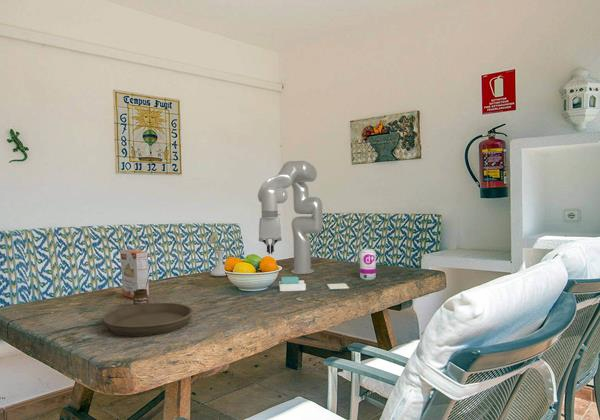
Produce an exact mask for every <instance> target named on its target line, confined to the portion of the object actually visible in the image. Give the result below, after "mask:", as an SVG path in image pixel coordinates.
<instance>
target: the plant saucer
mask: <svg viewBox="0 0 600 420" xmlns="http://www.w3.org/2000/svg"><path fill="white" fill-rule="evenodd" d="M193 315H194V309H193V308H192V307H191V306H189V305H187V304H183V303H175V302H149V303H147V304H138V305H133V304H132V305H128V306H122V307H120V308H119V307H118V308H116V309H114V310H111V311H109V312H107V313H105V314H104V315H103V316H102V318H101V320H102V323H103V325H104V326H105V327H106V328H108V329H109V331H111V332H112V333H113V334H117V335H119V336H127V335H128V336H129V337H131V336H132V337H137V336H138V337H139V336H141V337H143V336H142V335H145V336H152V335H153V336H154V335H158V334H159V335H160V334H165V333H169V332H173V331H176V330H178V329H181V328H183V327H184V326H186V324H187V323H188V321H189V320H190V319H192V317H193Z"/></svg>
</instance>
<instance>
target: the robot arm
mask: <svg viewBox="0 0 600 420" xmlns="http://www.w3.org/2000/svg"><path fill="white" fill-rule="evenodd" d="M317 174H318V172H317V169H316V167H315V166H314V165H313V164H311V163H310V162H309V161H307V160H290V161H287V162H285V163H283V165H282V166H281V168H280V170H279V172H278V174H277V175H275V176H272V177H270V178H269V179H267V180H266V181H264V182H262V185H260V188H259V189H258V191H257V199H258V201H259V202H260V203H261V206H260V207H261V217H260V218H259V223H258V236H259V237H258V242H261V243H264V245H266V252H267V254H268V255H273V253H274V252H275V249H274V248H275V247H274V246H275V245H276V243H278V242H281V241H282V231H281V220H280V217H279V216H281V214H282V213H281V211H278V204H284V203H285V202H286V201H287V200H288V192H287V190H286V189H287V188H289V187H291V188H292V192H293V193H292V194H293V210H294V212H295V213H296V214H297V215H305V216H295V217H293V219H292V221H291V231H292V235H293V237H292V238H293V240H292V241H293V269H291V274H295V275H309V274H312V273H314V271H315V270H314V269H312V268H311V267H312V263H311V258H312V257H311V255H312V254H311V240H310V237H309V236H308V234H309V235H310V234H313V235H314V234H317V235H318V234H320V233H322V230H323V226H324V225H323V203H322V202H323V201H322V200H321V198H319V197H317V196H310V195H309V186H308V184H306V183H307V182H308V183H310V182H314V181H315V180H317V176H318V175H317ZM306 215H312V216H306ZM269 240H271V244H270V243H269Z"/></svg>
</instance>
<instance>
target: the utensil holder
mask: <svg viewBox="0 0 600 420" xmlns="http://www.w3.org/2000/svg"><path fill="white" fill-rule="evenodd" d="M149 277H150V276H148V279H149ZM148 279H147V283H146V287H147V284H148ZM136 282H138V281H136ZM137 284H139V283H137ZM133 285H134V284H133ZM136 288H137V287H136ZM138 288H139V287H138ZM132 302H133V304H132V305H138V304H147V303H150V302H149V298H148V294H147V289H146V288H145V289H137V290H134V296H133V301H132Z"/></svg>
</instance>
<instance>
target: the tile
mask: <svg viewBox="0 0 600 420" xmlns="http://www.w3.org/2000/svg"><path fill="white" fill-rule="evenodd" d="M326 285H327V287H328V289H329V290H338V289H340V290H343V289H345V290H346V289H350V287H349V286H348V284H347V283H345V282H344V283H341V282H340V283H327V284H326Z"/></svg>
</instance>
